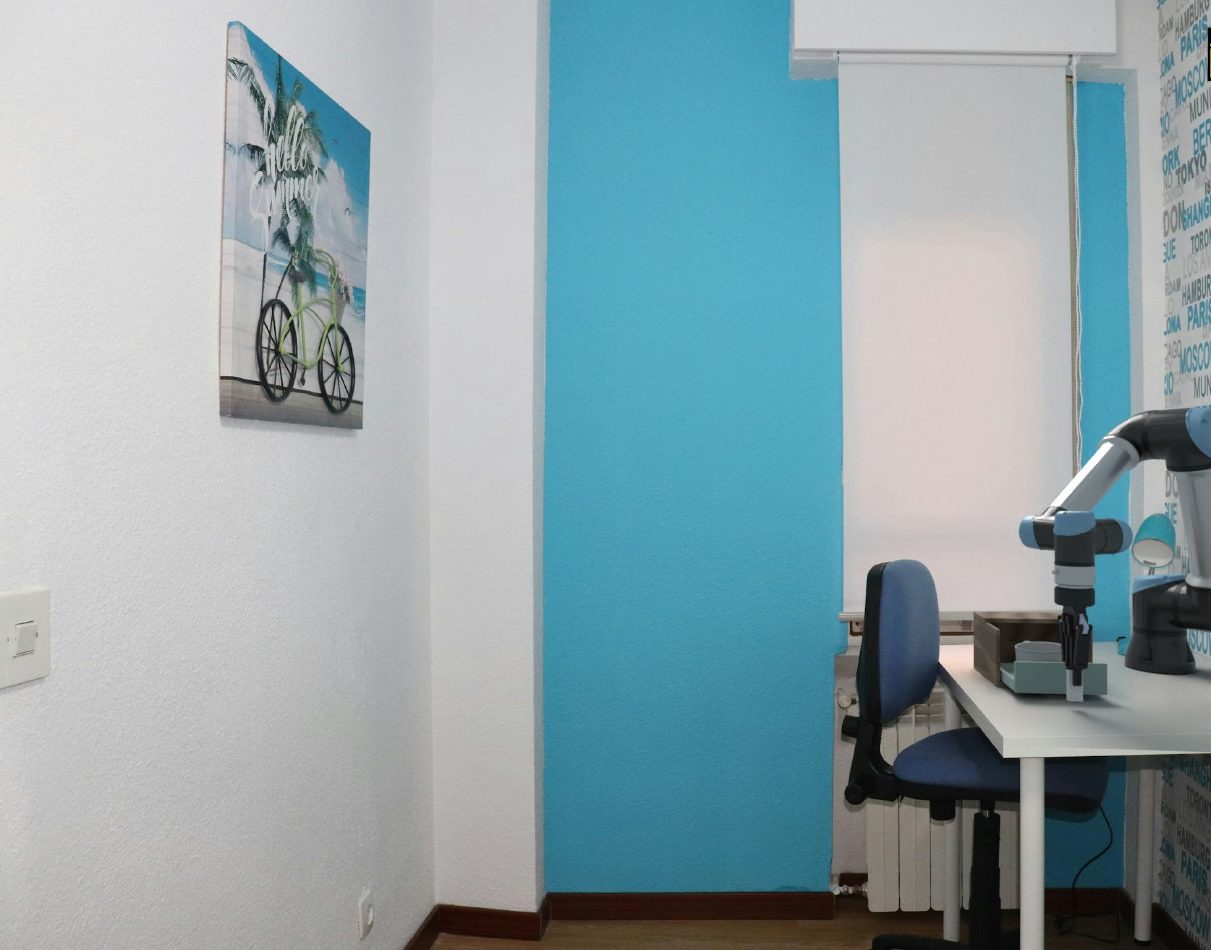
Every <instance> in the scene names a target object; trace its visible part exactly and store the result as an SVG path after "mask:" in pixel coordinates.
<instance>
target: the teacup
mask: <svg viewBox="0 0 1211 950" xmlns="http://www.w3.org/2000/svg"><path fill="white" fill-rule="evenodd" d="M1015 651H1016V661H1030V662H1063V661H1062V653H1061V644H1059V643H1053V642H1030V641H1024V642H1023V643H1019V644H1016V645H1015Z"/></svg>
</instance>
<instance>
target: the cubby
mask: <svg viewBox="0 0 1211 950" xmlns="http://www.w3.org/2000/svg"><path fill="white" fill-rule="evenodd" d="M1062 613H1063V612H1037V611H1036V612H1031V611H1030V612H1029V611H1026V612H1025V611H1024V612H1023V611H1020V612H1019V611H973V669H974V670H975V671H976V672H978V673H979V674H980V675H982V676H983V677H984V678H985V679H986V680H988V681H989V682H990V683H992V685H994V686H995V687H997V688H1010V687H1009V686H1007V685H1006V684H1005V683H1004V682H1002V681H1001V680H1000V663H1014V661H1016V651H1015V645H1016V644H1019V643H1023V642H1024V641H1030V642H1053V643H1059V644H1061V641H1060V630H1059V623H1058V619H1057V617H1058V615H1061V614H1062ZM1093 631H1094V630H1092V633H1091V638H1090V649H1089V659H1088V663H1094V662H1093V659H1094V657H1093V656H1094V655H1093V649H1094V648H1093V647H1094V646H1093V645H1094V644H1093V643H1094V642H1093V636H1094V635H1093V634H1094V633H1093Z"/></svg>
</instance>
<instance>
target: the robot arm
mask: <svg viewBox="0 0 1211 950" xmlns="http://www.w3.org/2000/svg"><path fill="white" fill-rule="evenodd" d="M1150 460H1164V462H1165V466H1166V467H1165V468H1166V471H1167V472H1169V473H1170V474H1172V475H1173V476H1174V477H1175V481H1176V486H1177V487H1176V488H1177V492H1178V499H1179V504H1180V505H1179V506H1180V510H1181V511H1180V512H1181V517H1182V522H1183V523H1182V524H1183V529H1184V535H1185V541H1186V546H1187V553H1188V559H1189V566H1190V573H1189V574H1188V575H1187V574H1186V573H1161V574H1148V575H1147V574H1146V575H1139V576H1136V577H1135V578H1134V580H1133V581H1132V590H1131V591H1132V592H1131V596H1132V597H1131V598H1132V599H1131V600H1132V602H1131V603H1132V605H1131V606H1132V607H1131V608H1132V615H1131V616H1132V635H1131V638H1130V641H1129V644H1128V646H1127V648H1126V651H1125V654H1124V665H1125V666H1126V667H1128V668H1131V669H1135V670H1137V671H1138V670H1139V671H1144V672H1150V673H1160V674H1177V675H1179V674H1191V673H1195V672H1196V670H1197V668H1196V666H1197V665H1196V663H1197V662H1196V660H1195V656H1194V654H1193V651H1192V647H1191V645H1190V643H1189V639H1188V630H1191V631H1199V632H1205V633H1211V407H1197V406H1195V407H1184V408H1183V407H1182V408H1171V409H1153V410H1150V409H1149V410H1145V411H1142V412H1138V413H1137V414H1133V415H1132V416H1130V417H1127V418H1126V419H1125V420H1123V421H1122V422H1120V423H1119V424H1117V425H1116V426H1115V427H1112V429H1111V430H1109V431H1108V433H1106V434H1105V436H1103V437H1102V439H1101V440H1099V442H1098V444H1097V445H1096V452H1095V453H1094V454H1093V455H1092V457H1091V458H1090V459H1089V460H1088V461H1087V462H1086V463H1085V465H1084V466H1083V467H1082V468H1081V469H1080V470H1079V472H1078V473H1077V474H1075V476H1073V478H1072V479H1071V481H1069V482H1068V484H1067V485H1066V486H1065V487H1064V488H1063V490H1062V491H1061V492H1060V493H1059V494H1058V495H1057V496H1056V497H1055V498H1054V499H1053V501H1052V502H1051V503H1050V504H1049V505H1048V506H1047V508H1046V509H1044V511H1043V512H1042V513H1041V514H1040V515H1038V514H1033V515H1026V516H1025V517H1023V518H1022V519H1021V521H1020V524H1019V526H1018V536H1019V539H1020V542H1021V544H1022V545H1023V546H1024V547H1026V548H1029V549H1036V550H1040V551H1054V562H1053V563H1054V566H1053V567H1054V569H1051V574H1052V575H1054V583H1055V584H1056V585H1055V587H1053V589H1054V590H1053V594H1054V595H1053V599H1054V604H1056V605H1058V606H1062V612H1061V613H1062V614H1061V615H1058V617H1057V619H1058V623H1059V630H1060V641H1061V653H1062V661H1063V662H1065V666H1066V694H1065V695H1066V700H1067V701H1068V702H1084V694H1083V670H1084V669H1087V668H1088V659H1089V649H1090V638H1091V633H1092V631H1094V630H1093V629H1094V626H1093V624H1091V623H1089V616H1088V615H1087V614H1088V613H1087V608H1089V607H1091V608H1092V607H1094V606H1095V604H1096V589H1095V588H1094V587H1093V586H1094V585H1096V563H1095V562H1096V556H1102V555H1111V556H1113V555H1117V554H1120V553H1123V552H1125V551H1127V550H1128V549H1130V547H1131V545H1132V543H1133V540H1134V539H1133V538H1134V533H1133V530H1132V527H1131V526H1130V525H1129V524H1128V522H1126V521H1124V520H1122V519H1120V518H1113V517H1105V518H1096V517H1095V513H1094V512H1092V511H1093V510H1094V509H1095V507H1096V506H1097V505H1098V504H1099V503H1100V502H1101V500H1103V498H1105V496H1106V495H1107V494H1108V493H1109V491H1110V490H1111V489H1112V487H1114V485H1116V484H1117V482H1118V481H1119V480H1120V479H1121V477H1123V475H1124V473H1126V472H1128V471H1132V470H1133V469H1135V468H1136V467H1137V466H1138V465H1139V464H1140V463H1142V462H1144V461H1145V462H1146V461H1150Z"/></svg>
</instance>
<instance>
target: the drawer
mask: <svg viewBox="0 0 1211 950" xmlns="http://www.w3.org/2000/svg"><path fill="white" fill-rule="evenodd" d="M1000 680H1001V681H1002V682H1004V683H1005V684H1006V685H1007V686H1009V687H1008V688H1009V689H1011V690H1013V691H1014V693H1016V694H1046V695H1047V694H1052V695H1053V694H1054V695H1055V694H1056V695H1057V694H1058V695H1066V666H1065V662H1030V661H1014V663H1000ZM1083 695H1087V696H1088V695H1093V696H1095V695H1096V696H1097V695H1098V696H1108V663H1107V662H1093V663H1088V668H1087V669H1084V670H1083Z"/></svg>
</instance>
